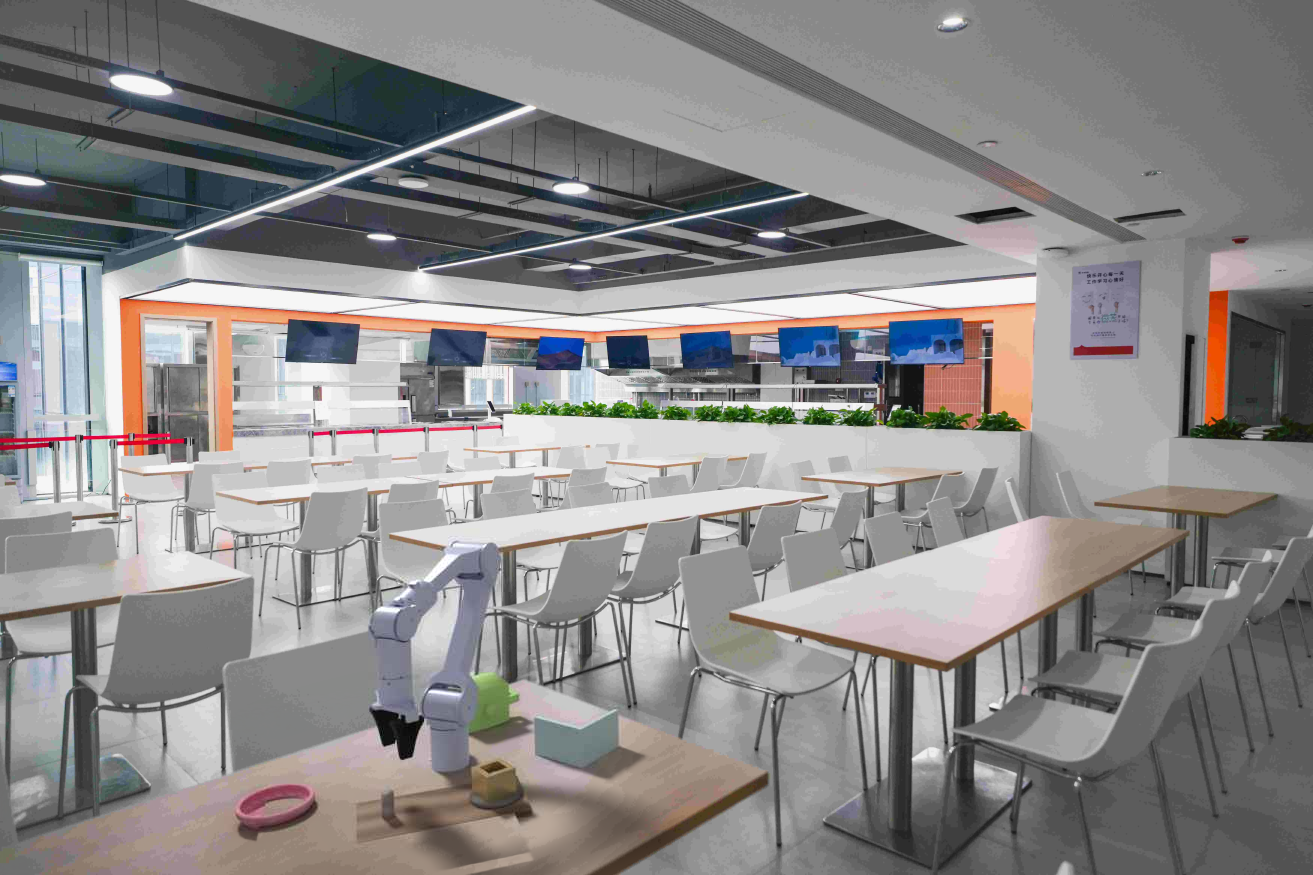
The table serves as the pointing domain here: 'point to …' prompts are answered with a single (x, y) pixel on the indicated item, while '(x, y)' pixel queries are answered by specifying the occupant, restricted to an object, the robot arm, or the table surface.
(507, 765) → the collar
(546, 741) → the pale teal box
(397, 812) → the board
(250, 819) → the pink ring
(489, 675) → the lime green knobbly part
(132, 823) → the table surface
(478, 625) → the robot arm
